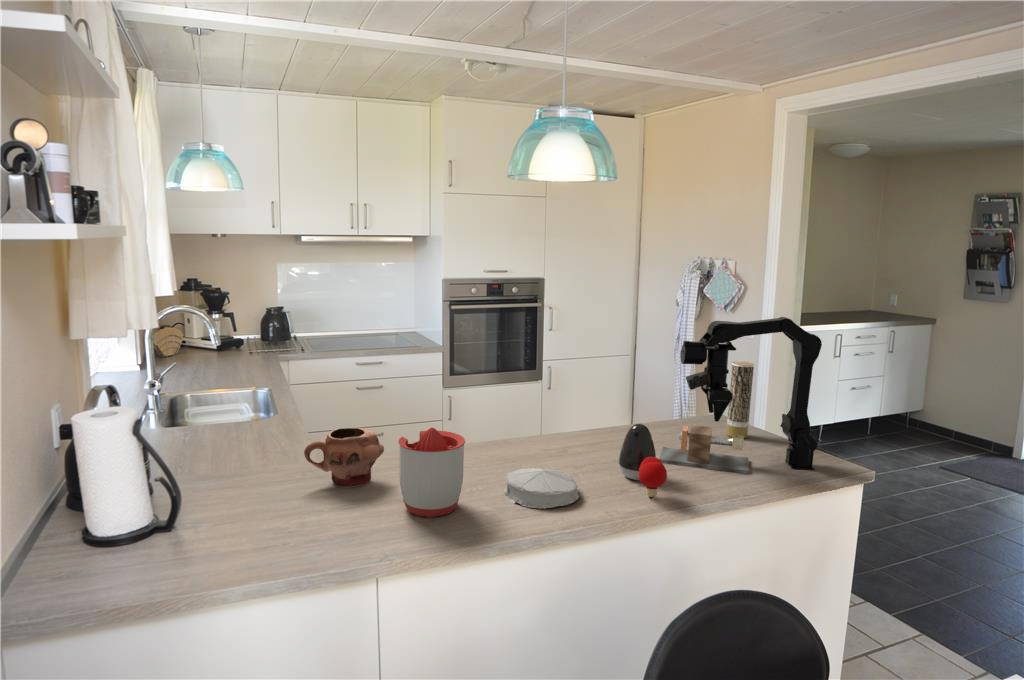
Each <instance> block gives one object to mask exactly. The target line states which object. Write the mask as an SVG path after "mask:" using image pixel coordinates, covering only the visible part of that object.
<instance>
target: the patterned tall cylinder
mask: <svg viewBox="0 0 1024 680" xmlns="http://www.w3.org/2000/svg"><path fill="white" fill-rule="evenodd" d="M754 367H755V364H754V363H753V362H747V361H732V364H731V372H730V373H731V375H730V385H729V386H730V387H729V390H730V391H731V393H732V394H733V398H732V401H731V402H730V403H729V405H728V406H727V421H726V431H725V433H726V435H727V437H728V438H733V435H741V436H744V439H746V438H747V437H748V431H749V423H750V422H749V421H750V410H751V400H752V391H753V390H752V389H753V379H754V369H755V368H754Z"/></svg>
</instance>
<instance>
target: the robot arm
mask: <svg viewBox="0 0 1024 680" xmlns="http://www.w3.org/2000/svg"><path fill="white" fill-rule="evenodd" d="M775 333H783V334H784V335H785V336H786V337H787V338H788V339H789V340H791V341H792V352H793V357H794V360H795V368H794V375H793V385H792V393H791V399H790V400H791V401H790V409H789V411H788V412H787V414H786V413H782V414H781V423H780V428H782V433H783V434H784V435H785V436H786V437H787V441H789V442H790V443H788V448H786V451H785V452H786V453H785V459H784V462H785V463H786V464H787V465H788V466H789V467H790V468H791V469H796V470H797V469H798V470H815V466H813V463H814V455H815V452H814V451H816V450H817V449H818V445H819V443H818V442H817V441H816V440H815V439H814V438H813V437H812V436H811V423H810V419H809V415H808V410H809V409H808V408H809V400H810V391H811V384H812V375H813V367H814V364H815V362H817V360H818V358H819V356H820V353H821V350H822V347H823V345H822V342H823V341H822V339H821V338H820V337H819V336H818V335H816V334H814V333H810V332H809V331H807V330H805V329H804V328H802V327H801V326H799V325H798V324H797V323H795V322H794V321H793V320H792V319H791V318H788V317H786V316H780V317H778V318H767V319H758V320H751V321H742V322H741V321H740V322H736V321H726V320H723V321H722V320H714V321H712V322H710V323H709V324H708V326H707V330H706V332H705V333H704V334H703V336H701V338H700V339H699V340H698V341H690V340H682V341H683V343H682V346H681V350H680V352H679V353H680V355H679V356H680V363H681V365H703V363H706V365H705V367H704V371H700V372H696V373H694V374H693V373H692V374H690V375H687V376H685V380H686V384H687V385H688V389H689V391H691V390H696V389H697V388H700V389H701V391H702V392H704V394H705V396H706V401H707V407H708V408H707V409H708V412H709V413H710V414H713V419H714V422H720V420H721V418H722V416H723V415H724V412H725V411H726V409H728V406H729V403H730V402H731V401H732V398H733V394H732V393H731V391H730V388H729V387H728V386H729V385H728V383H727V380H728V379H727V378H728V374H729V373H730V371H729V369H728V364H729V363H728V362H729V351H732V352H733V351H736V350H737V348H736V347H735V346H734V345H733V343H732V341H735V340H738V339H740V338H743V337H751V336H757V335H767V334H775Z"/></svg>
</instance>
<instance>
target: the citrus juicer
mask: <svg viewBox="0 0 1024 680" xmlns="http://www.w3.org/2000/svg"><path fill="white" fill-rule="evenodd" d="M398 444H399V472H398V473H399V474H398V475H399V485H400V486H399V487H400V491H401V495H402V499H403V503H404V505H405V507H406V509H407V511H408V512H410V513H411V514H413V515H415V516H420V517H427V518H434V517H441V516H445V515H448V514H449V513H452V512H454V510H455V508H456V507H457V505H458V503H459V499H460V495H461V492H462V488H463V481H464V458H465V457H464V456H465V453H464V451H465V444H466V440H465V438H464V437H463V435H460V434H458V433H455V432H451V431H445V430H437V429H436V428H434V427H430V428H429V429H427V430H422V431H419V440H418V441H415V442H413V443H409V439H408V438H406V437H404V436H401V437H399V439H398Z"/></svg>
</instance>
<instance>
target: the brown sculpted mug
mask: <svg viewBox="0 0 1024 680" xmlns="http://www.w3.org/2000/svg"><path fill="white" fill-rule="evenodd" d="M316 449H317V450H321V451H322V454H323V460H322V461H319V462H315V460H312V458H311V452H312V451H314V450H316ZM384 451H385V447H384V445H383V443H381V442H380V440H379V438H378V436H377V434H376V433H375V431H372V430H368V429H365V428H362V427H361V428H360V427H356V428H355V427H352V428H351V427H345V428H336V429H333V430H331V431H330V432H328V433H327V435H326V438H325V439H323V440H315V441H312V442H311V443H309V444H307V445H306V447H305V448H304V451H303V455H304V458H305V459H306V461H307V462H308V463H309V464H311V465H313V466H314V467H315V468H317V469H320V470H322V471H324V472H327V473H328V472H331V482H332V483H333V484H334V485H335V486H336V487H339V488H355V487H362V486H366V485H367V484H369V483H370V482H371V480H372V472H371V471H372V468H373V466H374V464H375V463H376V461H377V460H378V458H379V457H381V456H382V455H383V454H384Z"/></svg>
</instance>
